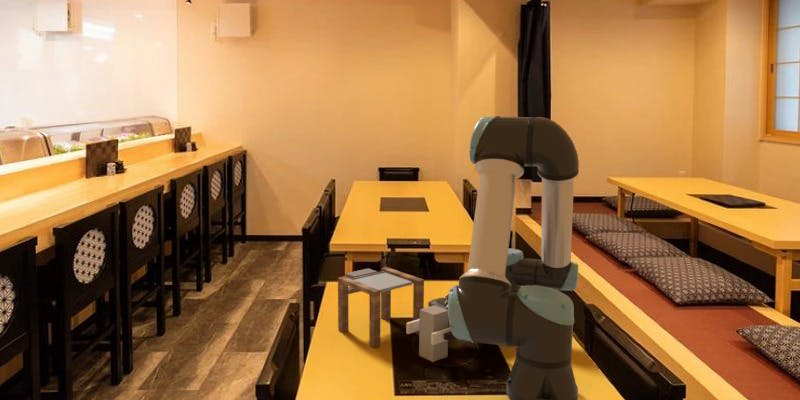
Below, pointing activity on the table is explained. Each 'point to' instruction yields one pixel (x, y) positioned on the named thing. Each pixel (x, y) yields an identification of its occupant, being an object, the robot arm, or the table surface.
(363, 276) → the flap
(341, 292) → the trapdoor frame
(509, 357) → the table surface
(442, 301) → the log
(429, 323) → the granite block
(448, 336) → the robot arm
